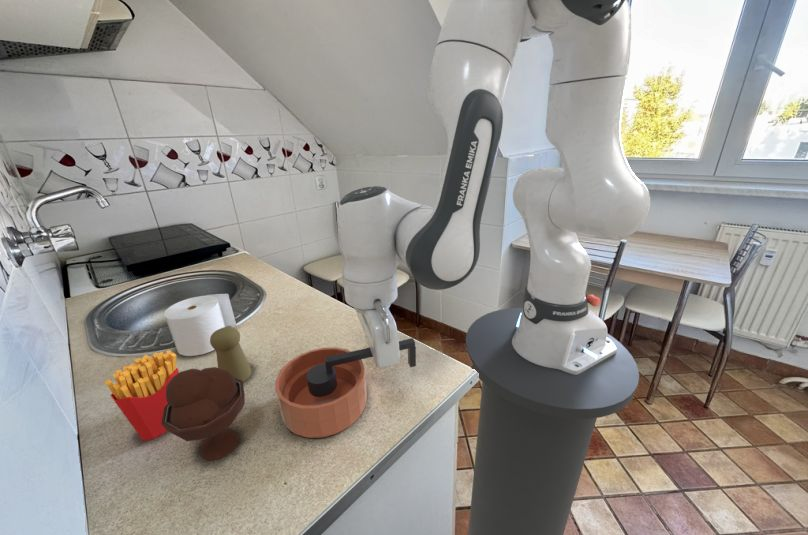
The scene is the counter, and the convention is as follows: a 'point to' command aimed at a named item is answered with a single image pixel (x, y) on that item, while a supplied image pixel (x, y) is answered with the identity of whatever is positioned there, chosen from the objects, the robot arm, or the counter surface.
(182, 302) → the toilet tissue
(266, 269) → the counter surface
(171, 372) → the french fries
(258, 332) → the counter surface
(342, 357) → the ladle
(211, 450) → the ice cream bowl
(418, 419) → the counter surface
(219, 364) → the cork
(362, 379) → the bowl
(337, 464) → the counter surface
